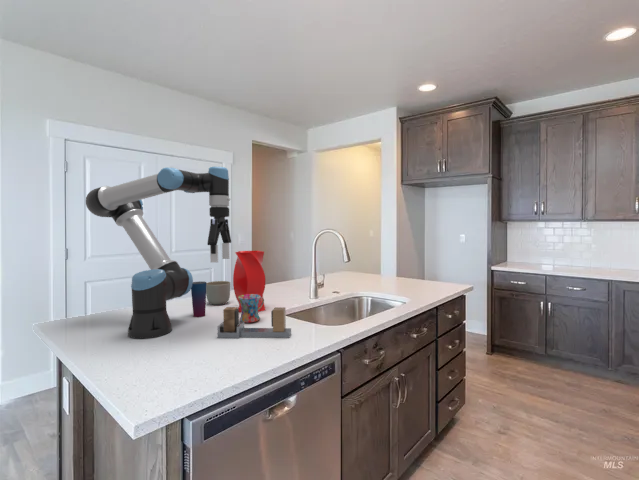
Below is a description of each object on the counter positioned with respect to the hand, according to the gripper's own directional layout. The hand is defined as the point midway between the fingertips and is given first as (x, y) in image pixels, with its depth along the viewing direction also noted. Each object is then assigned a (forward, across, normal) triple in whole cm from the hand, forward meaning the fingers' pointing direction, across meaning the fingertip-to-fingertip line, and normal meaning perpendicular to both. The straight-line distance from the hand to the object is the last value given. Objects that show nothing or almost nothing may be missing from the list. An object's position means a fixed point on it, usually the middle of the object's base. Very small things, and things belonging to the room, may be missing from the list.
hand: (220, 260), depth 140 cm
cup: (+27, +17, +16) cm, 36 cm away
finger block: (+25, -10, -7) cm, 28 cm away
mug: (+27, +10, -10) cm, 30 cm away
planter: (+27, +41, +16) cm, 51 cm away
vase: (+27, +29, -4) cm, 40 cm away
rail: (+27, -10, -16) cm, 33 cm away
